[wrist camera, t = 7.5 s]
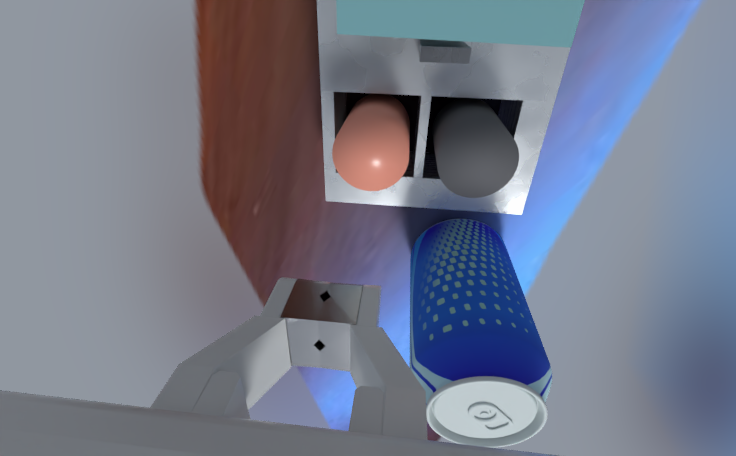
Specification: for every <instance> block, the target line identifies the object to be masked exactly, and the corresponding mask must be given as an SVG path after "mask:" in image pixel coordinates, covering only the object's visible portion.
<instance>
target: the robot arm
mask: <svg viewBox="0 0 736 456" xmlns="http://www.w3.org/2000/svg"><path fill="white" fill-rule="evenodd" d="M380 299H381V286H375V285H356V284H343V283H331V282H322V281H313V280H304V279H292V278H282V277H281V278H280V279H279V280H278V281H277V283H276V285H275V287H274V289H273V291H272V293H271V295H270V297H269V299H268V301H267V303H266V305H265V307H264V309H263V311H262V313H261V315H260V316H254V317H252V318H251V319H249V320H247V321H246V322H244V323H243V324H241V325H240V326H238V327H237V328H235V329H234V330H232V331H230V332H229V333H227V334H226V335H224V336H222V337H221V338H219V339H218V340H216V341H215V342H213V343H212V344H210V345H208V346H207V347H205V348H204V349H202V350H201V351H199V352H197V353H196V354H194V355H193V356H191V357H190V358H188V359H186V360H185V361H183V362H182V363H180V364H179V365H178V366H177V368H176V369H175V371H174V372H173V374H172V375H171V377H170V378H169V380H168V382H167V383H166V385H165V386H164V388H163V389H162V391H161V392H160V394H159V395H158V397H157V398H156V400H155V401H154V403H153V404H152V406H151V407H150V408H147V407H138V406H130V405H121V404H113V403H104V402H96V401H87V400H79V399H70V398H62V397H53V396H45V395H36V394H27V393H19V392H10V391H2V390H0V456H557V455H549V454H541V453H532V452H524V451H515V450H507V449H497V448H490V447H481V446H473V445H464V444H456V443H446V442H438V441H430V440H427V416H426V391H425V390H424V388H423V387H422V385H421V384H420V383H419V381H418V380H417V378H416V377H415V375H414V374H413V372H412V371H411V369H410V368H409V366H408V365H407V364H406V362H405V361H404V359H403V358H402V356H401V355H400V353H399V352H398V350H397V349H396V347H395V346H394V345H393V343H392V342H391V340H390V339H389V337H388V336H387V334H386V333H385V331H384V330H383V328H381V327H379V315H380ZM291 365H292V366H305V367H318V368H327V369H334V370H342V371H350V373H351V376H352V378H353V380H354V382H355V385H356V387H357V389H356V390H355V395H354V401H353V407H352V413H351V419H350V425H349V431H343V430H335V429H326V428H317V427H308V426H300V425H291V424H283V423H275V422H266V421H257V420H250V415H249V412H248V410H249V409H250V408H251V407H252V406H253V405H254V404H255V403H256V402H257V401H258V400H259V399H260V398H261V397H262V396H263V395H264V394H265V393H266V392H267V391H268V390H269V389H270V388H271V387H272V386H273V385H274V384H275V383H276V382H277V381H278V380H279V379H280V378H281V377H282V376H283V375H284V374H285V373H286V372H287V371H288V370H289V369H290V368H291Z"/></svg>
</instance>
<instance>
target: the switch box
mask: <svg viewBox="0 0 736 456" xmlns="http://www.w3.org/2000/svg"><path fill="white" fill-rule="evenodd" d="M317 19H318V40H319V62H320V84H321V106H322V127H323V149H324V171H325V193H326V201H334V202H348V203H362V204H377V205H391V206H405V207H419V208H434V209H448V210H462V211H476V212H490V213H505V214H519V215H522V212H523V209H524V205H525V202H526V198H527V195H528V192H529V188H530V185H531V181H532V178H533V174H534V171H535V168H536V164H537V161H538V157H539V154H540V150H541V147H542V144H543V140H544V137H545V133H546V130H547V127H548V123H549V120H550V116H551V113H552V109H553V106H554V103H555V99H556V96H557V92H558V89H559V85H560V82H561V79H562V75H563V72H564V68H565V65H566V61H567V58H568V55H569V51H570V48H568V47H551V46H533V45H516V44H499V43H482V42H465V41H447V40H430V39H413V38H396V37H379V36H362V35H344V34H337V10H336V0H317ZM346 92H354V93H375V94H397V95H418V96H419V98H418V108H417V119H416V130H415V140H414V151H413V152H409V162H408V166H407V169H406V171H405V173H404V175H403V176H402V177H401V179H400V180H399V181H398V182H396V183H395V184H394V185H392V186H391V187H389V188H386V189H384V190H379V191H365V190H361V189H358V188H355V187H353V186H351V185H350V184H348V183H347V182H346V181H345V180H344V179H343V178H342V177H341V176H340V175H339V173H338V172H337V170H336V168H335V165H334V162H333V157H332V149H333V144H334V141H335V138H336V136H337V134H338V133H339V131H340V129H341V127H342V126H343V124H344V122H345V120H346V118H347V108H346ZM431 96H439V97H461V98H482V99H502V101H501V105H500V110H499V115H498V118H499V119H500V120H501V122H502V123H503V124H504V126H505V127H506V129H507V130H508V131H509V133H510V134H511V135H512V137H513V138H514V140H515V142H516V144H517V146H518V150H519V162H518V167H517V170H516V172H515V174H514V176H513V177H512V179H511V180H510V181H509V182H508V183H507V184H506V185H505V186H504V187H503V188H502V189H500V190H499V191H497V192H495V193H493V194H491V195H488V196H485V197H480V198H467V197H462V196H459V195H457V194H455V193H453V192H451V191H450V190H449V189H448V188H447V187H446V186H445V185H444V184H443V183H442V181H441V179H440V177H439V174H438V169H437V162H436V155H435V153H425V150H426V141H427V132H428V123H429V114H430V105H431Z"/></svg>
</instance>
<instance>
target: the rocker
mask: <svg viewBox="0 0 736 456" xmlns="http://www.w3.org/2000/svg"><path fill="white" fill-rule="evenodd" d="M584 1H585V0H336V10H337V34H344V35H362V36H379V37H396V38H413V39H430V40H447V41H465V42H482V43H499V44H516V45H533V46H551V47H568V48H571V46H572V42H573V39H574V36H575V32H576V29H577V25H578V22H579V18H580V15H581V12H582V8H583V5H584Z"/></svg>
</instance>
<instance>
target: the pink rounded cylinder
mask: <svg viewBox="0 0 736 456" xmlns="http://www.w3.org/2000/svg"><path fill="white" fill-rule="evenodd" d="M409 139H410V120H409V116H408V113H407V111H406V109H405V107H404V106H403V104H402V103H401V102H400V101H398V100H397V99H396V98H394V97H392V96H390V95H387V94H370V95H367V96H365V97H363V98H361V99H360V100H359V101H358V102H357V103H356V104H355V105H354V106H353V108H352V110H351V111H350V113H349V115H348V117H347V118H346V120H345V122H344V124H343V126H342V127H341V129H340V131H339V133H338V134H337V136H336V138H335V141H334V144H333V149H332V157H333V162H334V165H335V168H336V170H337V172H338V173H339V175H340V176H341V177H342V178H343V179H344V180H345V181H346V182H347V183H348V184H350V185H351V186H353V187H355V188H358V189H361V190H365V191H379V190H384V189H386V188H389V187H391V186H392V185H394V184H395V183H396V182H398V181H399V180H400V179H401V177H402V176H403V175H404V173H405V171H406V169H407V166H408V162H409Z"/></svg>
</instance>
